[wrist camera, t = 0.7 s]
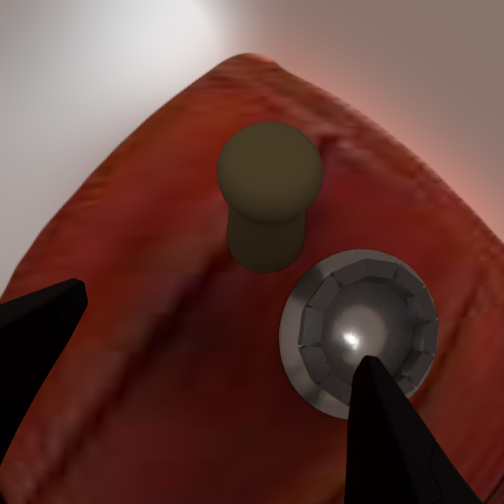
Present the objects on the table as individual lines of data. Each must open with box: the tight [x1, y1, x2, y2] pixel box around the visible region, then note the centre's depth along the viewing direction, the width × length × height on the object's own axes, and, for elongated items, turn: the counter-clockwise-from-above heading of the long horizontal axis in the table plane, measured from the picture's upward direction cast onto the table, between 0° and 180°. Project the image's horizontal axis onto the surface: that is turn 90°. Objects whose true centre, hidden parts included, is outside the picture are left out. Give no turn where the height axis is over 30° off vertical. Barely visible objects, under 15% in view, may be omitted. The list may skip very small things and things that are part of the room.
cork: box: [217, 122, 323, 273], centre depth 18 cm, size 6×6×11 cm
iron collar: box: [279, 249, 439, 419], centre depth 20 cm, size 13×13×3 cm
